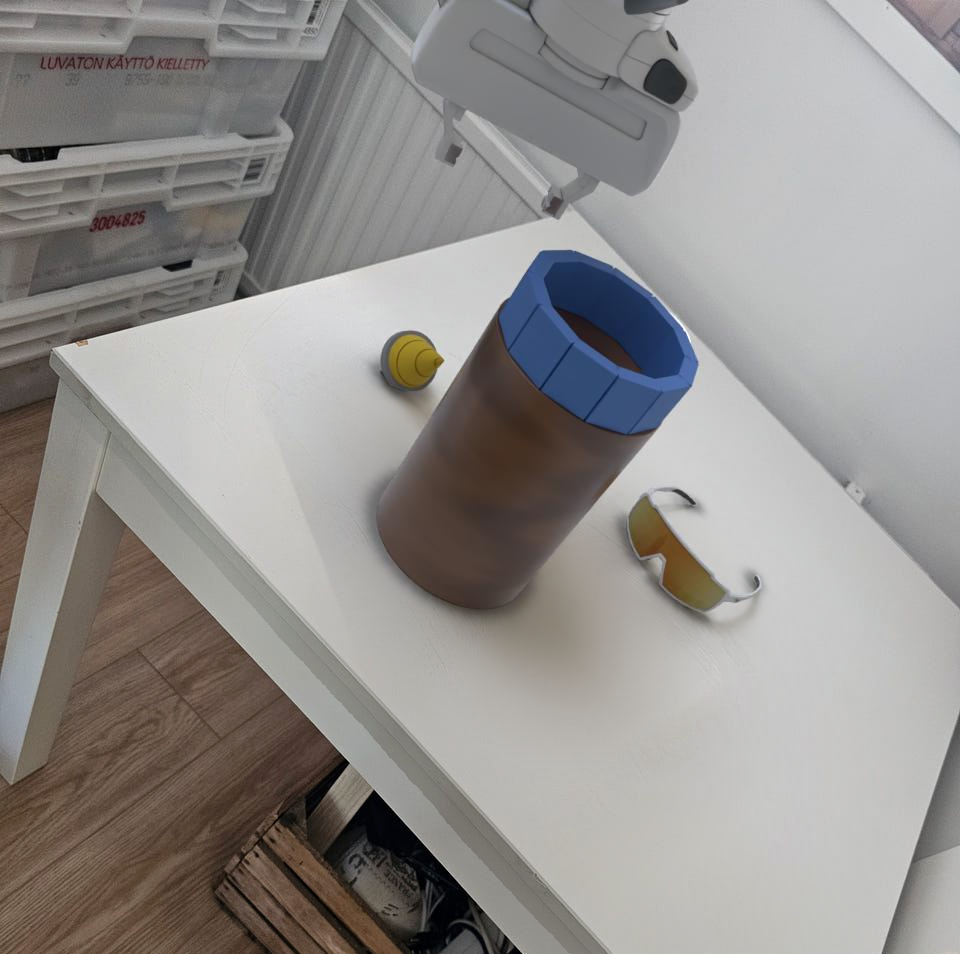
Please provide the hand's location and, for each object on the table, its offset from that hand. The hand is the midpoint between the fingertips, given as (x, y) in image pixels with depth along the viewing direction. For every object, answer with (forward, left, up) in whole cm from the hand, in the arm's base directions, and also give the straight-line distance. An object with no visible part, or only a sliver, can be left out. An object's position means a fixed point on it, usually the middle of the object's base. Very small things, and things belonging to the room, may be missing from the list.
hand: (497, 186), depth 81 cm
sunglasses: (+30, -14, -21) cm, 39 cm away
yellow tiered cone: (+1, -1, -21) cm, 21 cm away
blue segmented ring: (+3, -19, 0) cm, 19 cm away
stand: (+3, -19, -20) cm, 28 cm away
